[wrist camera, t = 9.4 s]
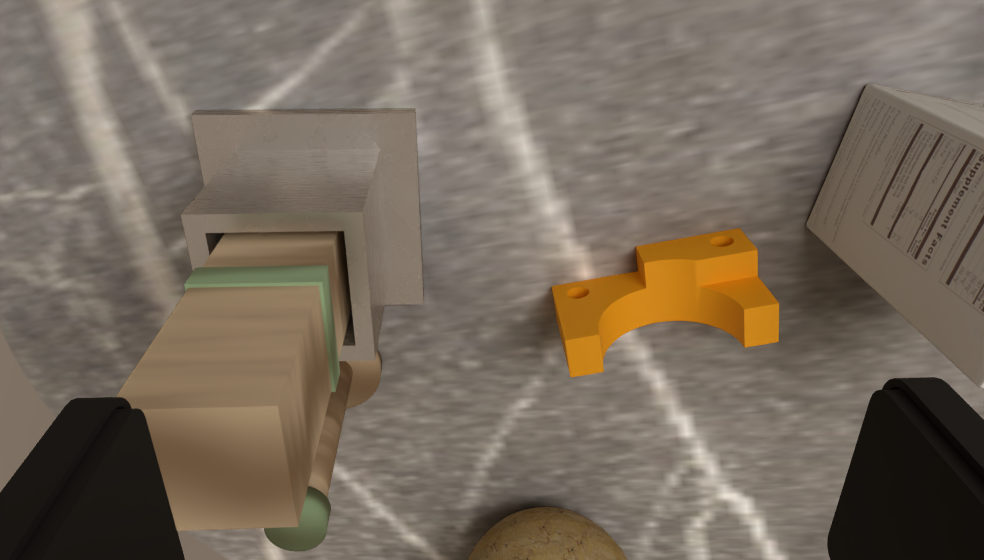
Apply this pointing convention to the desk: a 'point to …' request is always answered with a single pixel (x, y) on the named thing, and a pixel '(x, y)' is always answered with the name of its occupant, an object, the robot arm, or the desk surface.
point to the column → (246, 378)
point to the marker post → (328, 455)
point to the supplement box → (914, 214)
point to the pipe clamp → (669, 297)
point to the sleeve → (318, 196)
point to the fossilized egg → (546, 538)
